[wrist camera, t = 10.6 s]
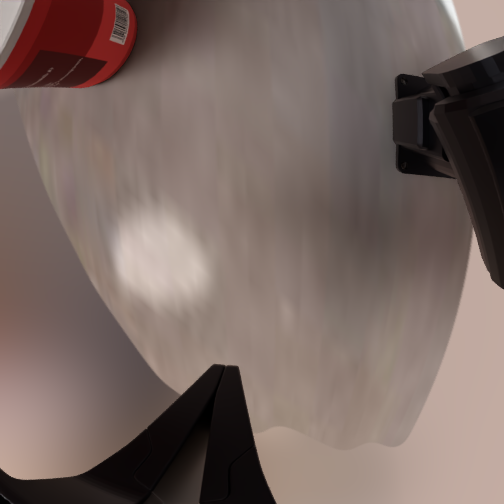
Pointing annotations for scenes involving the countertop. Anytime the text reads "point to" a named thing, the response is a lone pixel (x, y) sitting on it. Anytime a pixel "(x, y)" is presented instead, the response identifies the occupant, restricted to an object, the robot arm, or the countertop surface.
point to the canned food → (63, 41)
